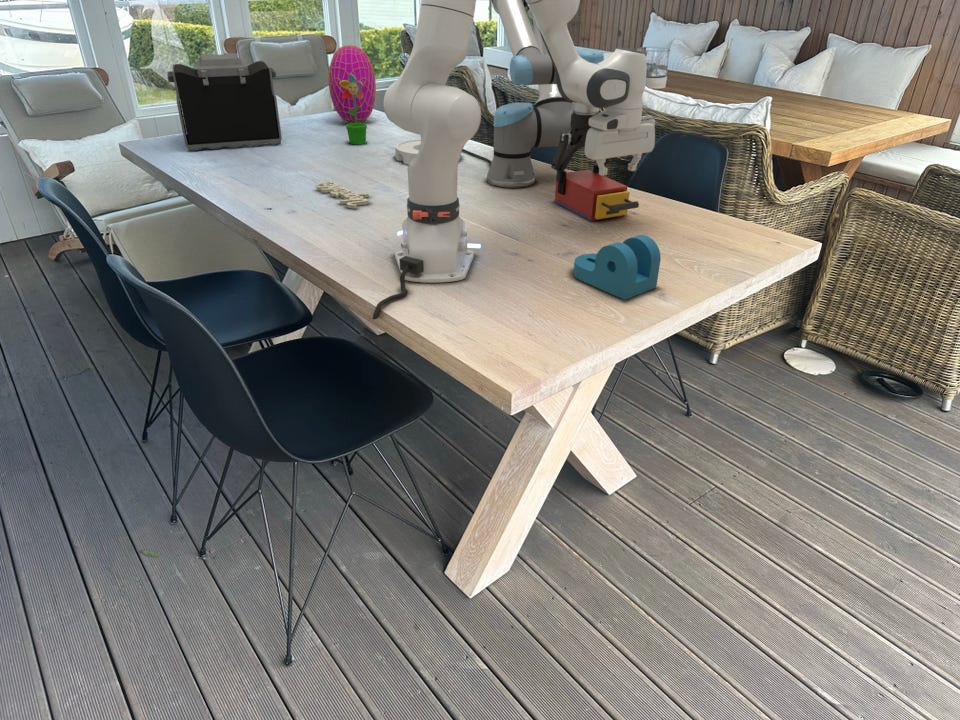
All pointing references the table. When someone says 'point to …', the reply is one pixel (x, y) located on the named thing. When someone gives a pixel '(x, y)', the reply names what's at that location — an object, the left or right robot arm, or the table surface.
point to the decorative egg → (361, 68)
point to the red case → (585, 192)
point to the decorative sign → (344, 194)
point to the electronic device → (226, 103)
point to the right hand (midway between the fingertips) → (578, 191)
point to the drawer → (613, 204)
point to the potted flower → (354, 129)
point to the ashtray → (408, 150)
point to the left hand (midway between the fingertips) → (617, 172)
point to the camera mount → (621, 267)
